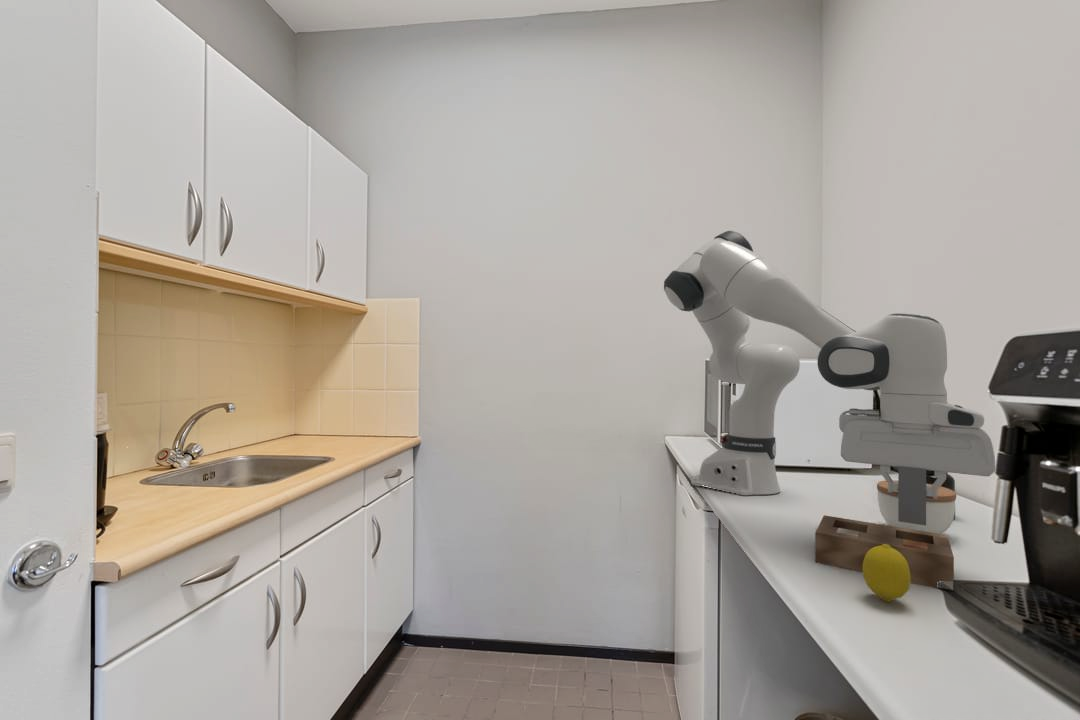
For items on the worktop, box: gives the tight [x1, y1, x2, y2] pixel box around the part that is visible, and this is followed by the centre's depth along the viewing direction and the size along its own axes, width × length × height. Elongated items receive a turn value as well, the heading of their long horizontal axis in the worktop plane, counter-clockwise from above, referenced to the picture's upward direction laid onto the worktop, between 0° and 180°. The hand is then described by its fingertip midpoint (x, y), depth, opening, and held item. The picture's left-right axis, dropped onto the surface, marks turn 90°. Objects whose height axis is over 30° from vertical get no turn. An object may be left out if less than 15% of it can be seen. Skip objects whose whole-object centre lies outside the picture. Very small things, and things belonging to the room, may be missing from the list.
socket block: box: [814, 514, 955, 589], centre depth 83 cm, size 18×12×5 cm, turn 54°
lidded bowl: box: [876, 479, 957, 534], centre depth 99 cm, size 13×13×11 cm
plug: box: [897, 466, 926, 526], centre depth 82 cm, size 4×4×9 cm
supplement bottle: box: [926, 470, 956, 519], centre depth 111 cm, size 7×7×12 cm
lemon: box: [862, 544, 911, 603], centre depth 70 cm, size 6×6×8 cm
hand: (912, 495), depth 82 cm, fingers closed on plug, 4 cm apart
